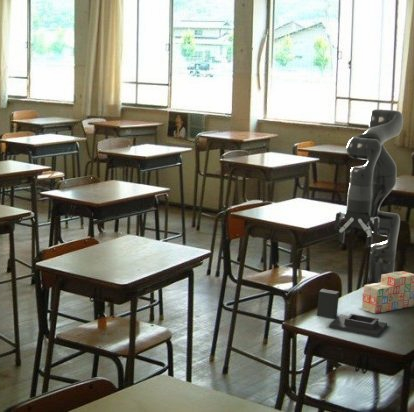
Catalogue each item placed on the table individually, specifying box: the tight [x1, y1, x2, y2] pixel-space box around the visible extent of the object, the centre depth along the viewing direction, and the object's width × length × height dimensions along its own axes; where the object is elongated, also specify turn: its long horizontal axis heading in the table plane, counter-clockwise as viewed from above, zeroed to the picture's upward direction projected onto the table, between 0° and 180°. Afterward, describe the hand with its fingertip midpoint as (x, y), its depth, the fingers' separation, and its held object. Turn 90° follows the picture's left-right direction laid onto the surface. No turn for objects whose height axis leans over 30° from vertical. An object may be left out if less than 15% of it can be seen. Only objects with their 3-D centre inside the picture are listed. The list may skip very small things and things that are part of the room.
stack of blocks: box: [361, 270, 414, 314], centre depth 321 cm, size 21×6×12 cm, turn 121°
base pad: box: [328, 313, 388, 338], centre depth 299 cm, size 14×16×3 cm
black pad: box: [316, 288, 340, 320], centre depth 310 cm, size 4×6×9 cm, turn 57°
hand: (355, 244), depth 292 cm, fingers open, 8 cm apart
